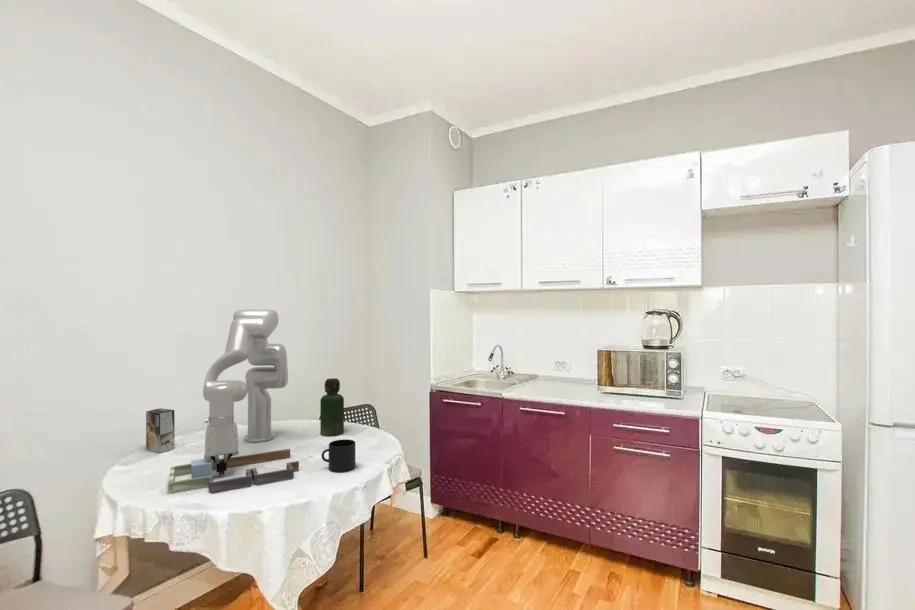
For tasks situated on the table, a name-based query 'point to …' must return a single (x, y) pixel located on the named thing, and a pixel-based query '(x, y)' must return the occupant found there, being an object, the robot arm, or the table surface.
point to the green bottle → (332, 409)
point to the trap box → (235, 482)
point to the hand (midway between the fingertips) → (221, 473)
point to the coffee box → (160, 430)
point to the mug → (341, 455)
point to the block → (201, 468)
